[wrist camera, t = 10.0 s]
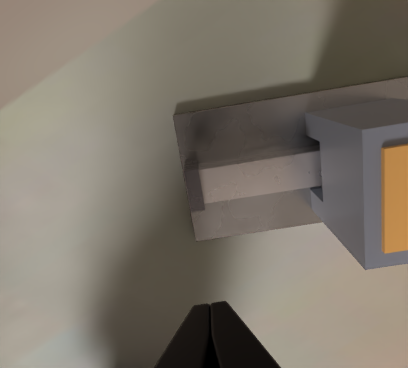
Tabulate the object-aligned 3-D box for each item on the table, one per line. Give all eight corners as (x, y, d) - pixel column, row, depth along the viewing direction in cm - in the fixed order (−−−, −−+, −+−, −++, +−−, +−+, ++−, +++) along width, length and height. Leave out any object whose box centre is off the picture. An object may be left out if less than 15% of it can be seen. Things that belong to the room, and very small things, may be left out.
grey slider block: (392, 196, 21) (489, 254, 14) (311, 209, 21) (368, 272, 14) (393, 98, 19) (504, 108, 12) (305, 112, 19) (365, 130, 12)
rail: (505, 189, 21) (545, 204, 19) (196, 237, 22) (195, 257, 20) (520, 57, 19) (568, 54, 17) (173, 114, 20) (169, 119, 17)
